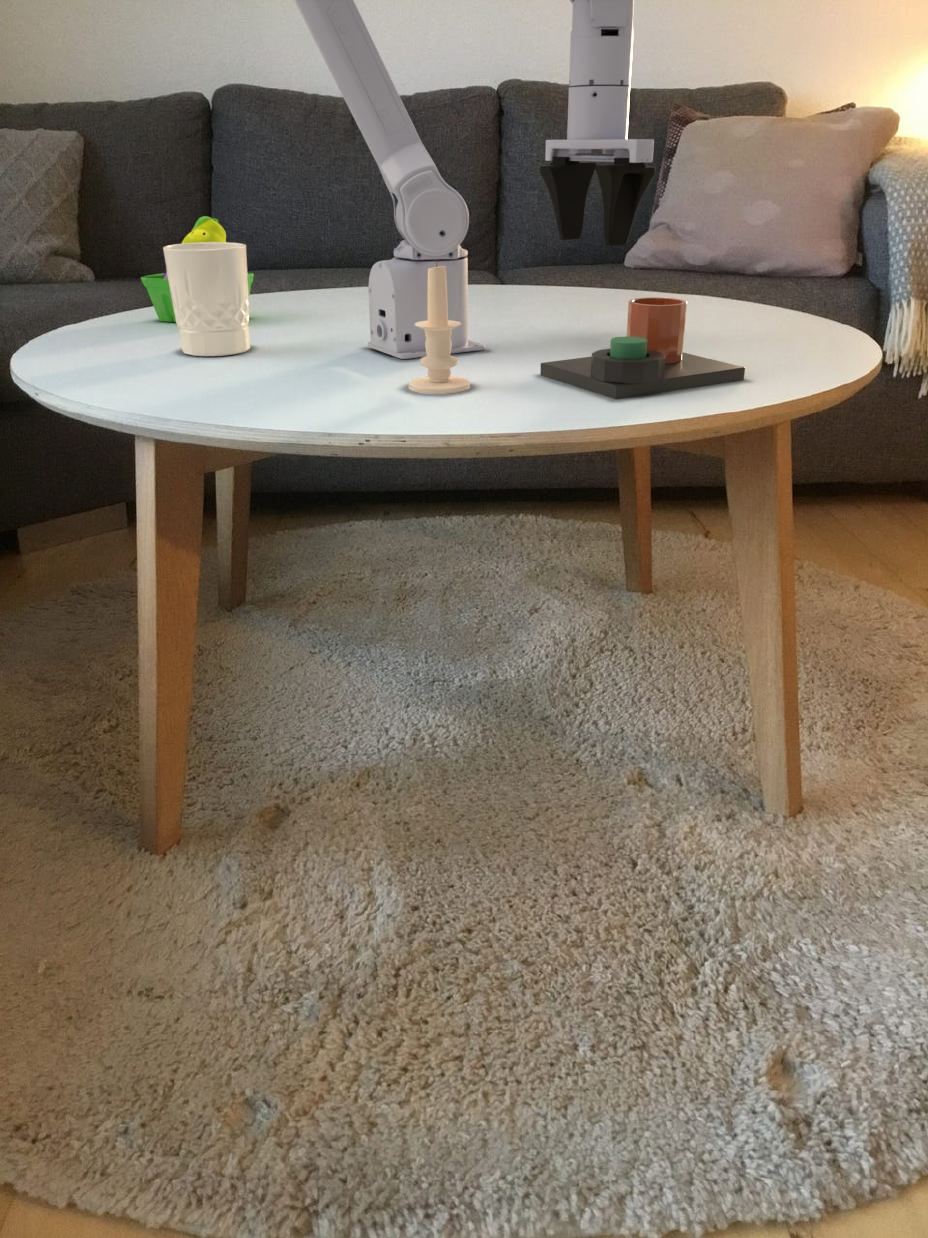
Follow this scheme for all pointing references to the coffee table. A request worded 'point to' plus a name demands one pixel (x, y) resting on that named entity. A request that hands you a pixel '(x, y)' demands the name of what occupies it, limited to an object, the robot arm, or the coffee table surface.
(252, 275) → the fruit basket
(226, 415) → the coffee table surface
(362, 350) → the coffee table surface
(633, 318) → the terracotta pot
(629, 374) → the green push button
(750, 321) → the coffee table surface
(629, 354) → the button
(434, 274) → the candle
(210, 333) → the white cup
